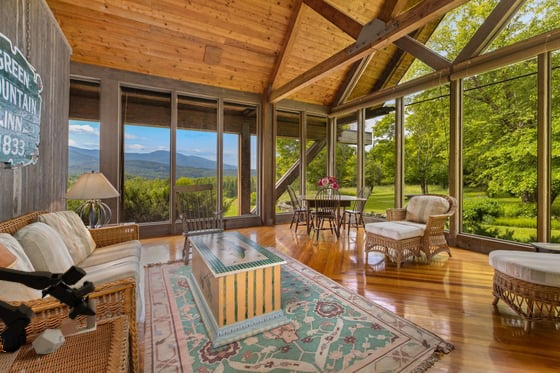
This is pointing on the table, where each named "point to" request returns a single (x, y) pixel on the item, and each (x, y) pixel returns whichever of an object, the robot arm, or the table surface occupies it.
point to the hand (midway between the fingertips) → (95, 312)
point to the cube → (68, 326)
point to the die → (48, 341)
